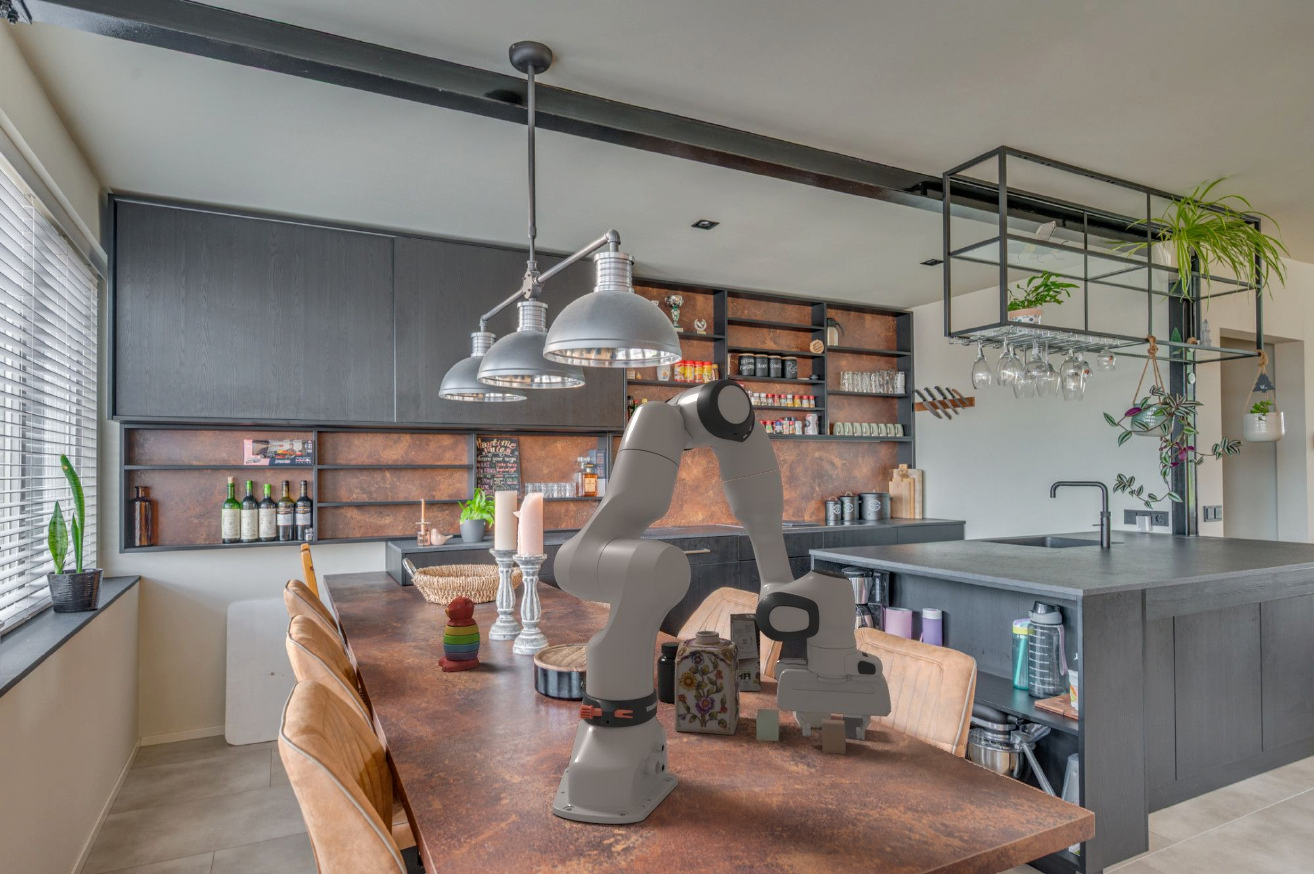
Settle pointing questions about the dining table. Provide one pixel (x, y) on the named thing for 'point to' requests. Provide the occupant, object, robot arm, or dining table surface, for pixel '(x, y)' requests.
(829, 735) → the walnut brick
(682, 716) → the decorative jar
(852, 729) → the grey brick
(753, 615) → the coffee box
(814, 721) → the cream block
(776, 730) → the sage brick
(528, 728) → the dining table surface
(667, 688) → the supplement bottle
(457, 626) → the stacking bear
